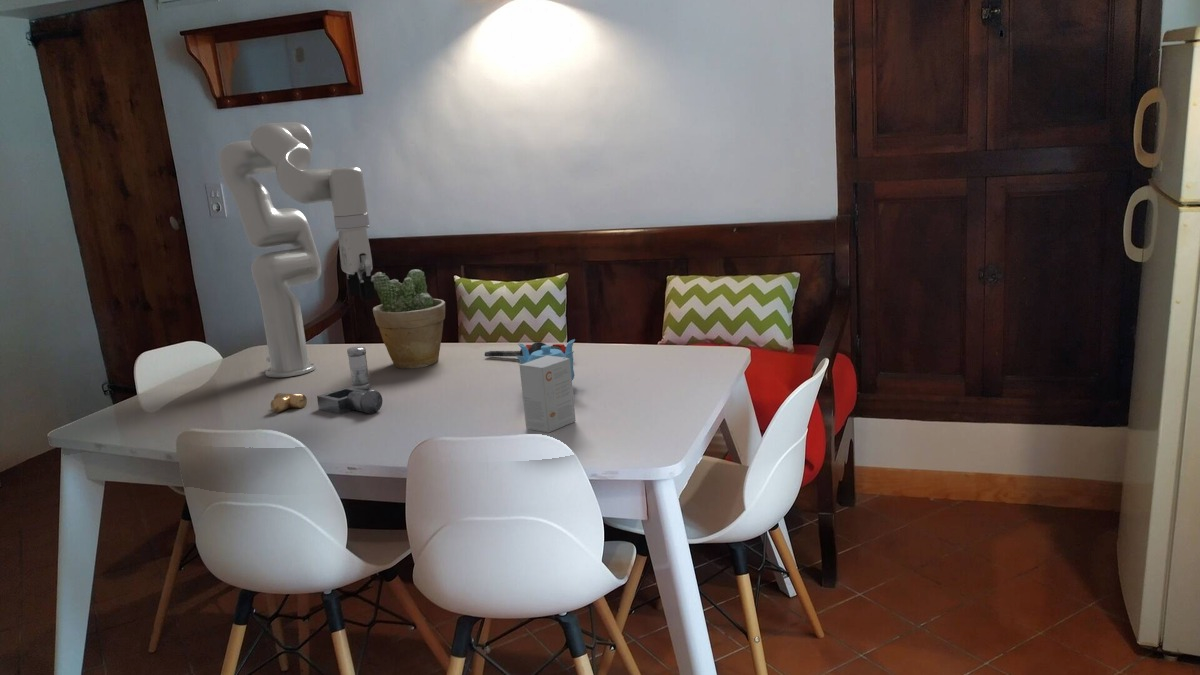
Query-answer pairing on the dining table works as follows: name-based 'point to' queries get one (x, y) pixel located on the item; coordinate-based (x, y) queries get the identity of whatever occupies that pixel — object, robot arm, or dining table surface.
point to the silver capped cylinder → (358, 368)
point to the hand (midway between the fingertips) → (362, 297)
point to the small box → (547, 393)
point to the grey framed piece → (350, 401)
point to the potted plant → (409, 320)
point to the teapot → (547, 354)
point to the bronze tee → (287, 401)
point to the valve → (530, 348)
